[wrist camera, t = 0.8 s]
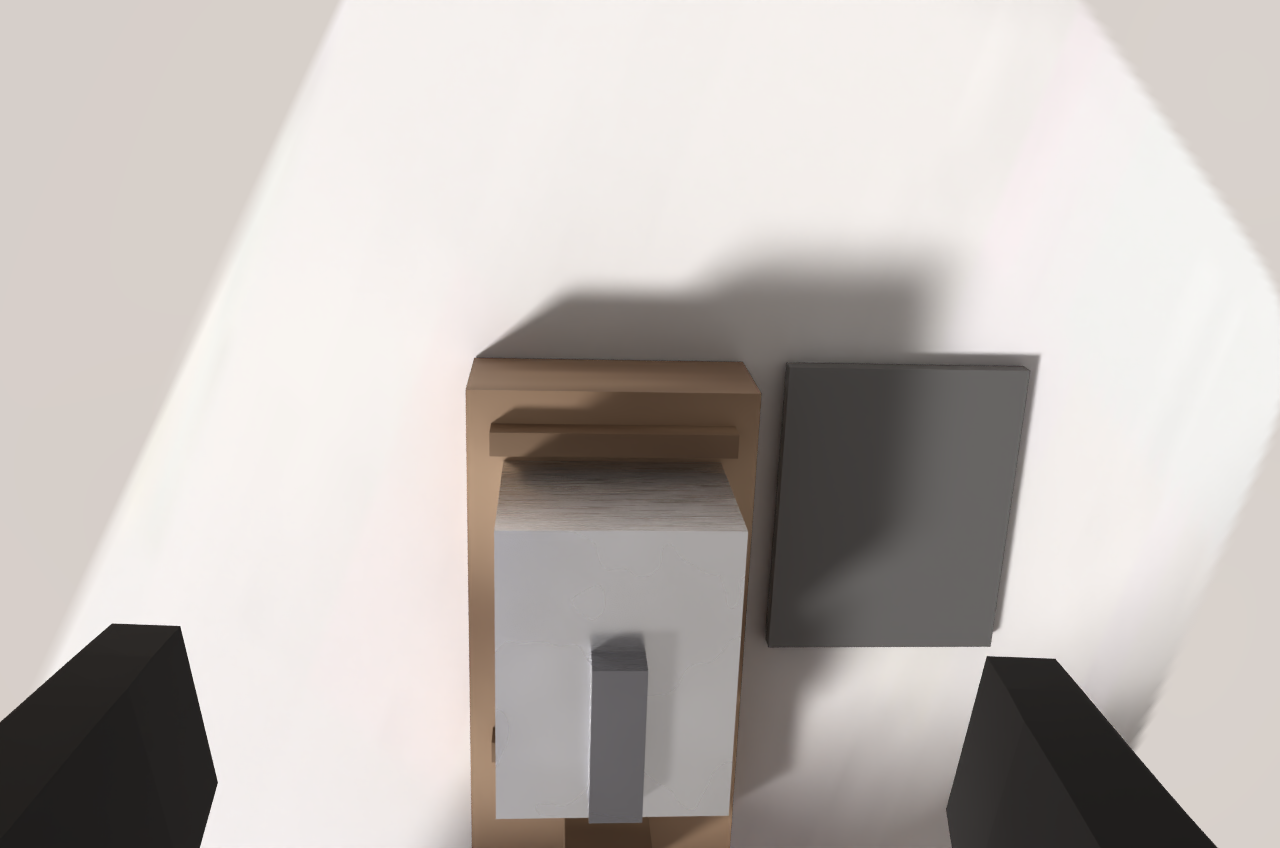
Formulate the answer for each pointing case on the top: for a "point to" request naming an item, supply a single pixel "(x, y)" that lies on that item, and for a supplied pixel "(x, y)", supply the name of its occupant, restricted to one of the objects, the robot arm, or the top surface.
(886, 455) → the rubber mat
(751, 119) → the top surface
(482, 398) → the body
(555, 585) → the lever cap
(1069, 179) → the top surface
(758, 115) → the top surface
